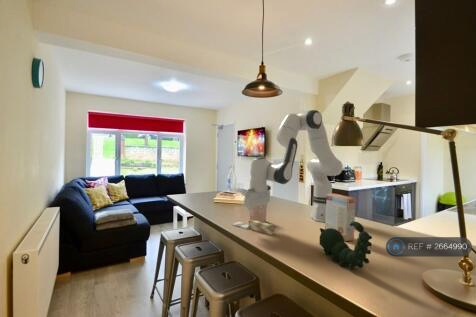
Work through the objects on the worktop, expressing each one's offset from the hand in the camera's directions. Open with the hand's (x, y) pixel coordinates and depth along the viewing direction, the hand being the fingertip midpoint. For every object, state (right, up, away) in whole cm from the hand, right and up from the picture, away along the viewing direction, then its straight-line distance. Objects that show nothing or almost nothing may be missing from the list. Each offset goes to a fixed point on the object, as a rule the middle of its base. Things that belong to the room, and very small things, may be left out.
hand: (256, 213), depth 129 cm
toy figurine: (+30, -11, -34) cm, 47 cm away
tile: (+2, -9, +13) cm, 16 cm away
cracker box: (+41, -11, -6) cm, 43 cm away
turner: (-2, -9, +2) cm, 9 cm away
